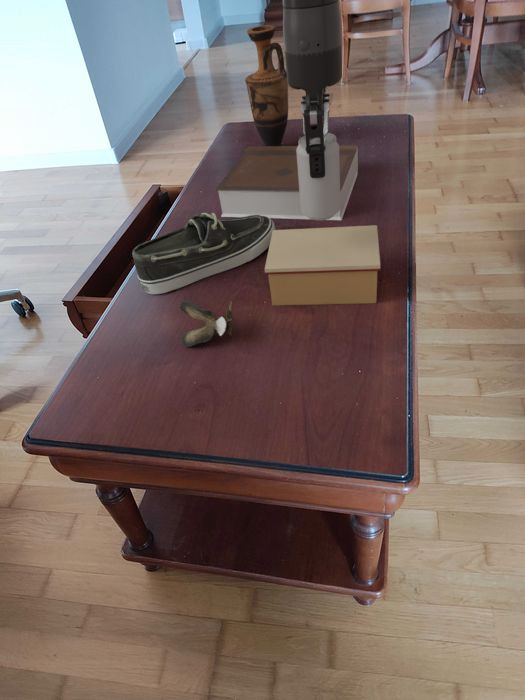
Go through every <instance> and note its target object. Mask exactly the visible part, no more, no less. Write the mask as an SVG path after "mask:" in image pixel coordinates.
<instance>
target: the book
mask: <svg viewBox="0 0 525 700" xmlns="http://www.w3.org/2000/svg"><path fill="white" fill-rule="evenodd" d="M297 147H298V145H288V146H265V145H263V146H262V145H261V146H247V147H246V148H245V149H244V152H243V153H242V154H241V155H240V157H239V158H238V160H236V162H235V163H234V165H233V166H232V167H231V169H229V171H228V172H227V174H226V175H225V176H224V178H223V179H222V180H221V182H220V183H219V185H218V186H217V187H216V188H215V191H217V194H218V196H219V203H220V209H221V216H220V217H221V218H240V217H247V216H251V215H260V216H266V217H269V218H270V219H287V220H288V219H289V220H290V219H291V220H311V219H310V218H308V217H306V216H305V215H303V214H302V212H301V205H300V192H299V179H298V166H297V152H296V149H297ZM359 149H360V147H359V145H357V144H354V145H353V144H352V145H346V144H345V145H344V144H343V145H339V161H340V210H339V212H338V213H337V214H335V215H334V216H333V217H332V218H330V219H327V220H326V221H342V220H343V218H344V214H345V212H346V209H347V206H348V203H349V200H350V198H351V195H352V192H353V188H354V186H355V183H356V180H357V177H358V174H359V170H360V169H359V162H360V161H359V160H360V159H359V156H360V155H359Z"/></svg>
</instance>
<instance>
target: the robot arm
mask: <svg viewBox="0 0 525 700" xmlns="http://www.w3.org/2000/svg"><path fill="white" fill-rule="evenodd" d="M282 13H283V15H282V35H283V46H284V47H283V48H284V62H285V71H286V73H287V83H288V87H289V88H292V89H294V90H303V91H304V92H305V94H304V95H301V101H300V113H301V115H302V124H303V125H302V128H303V129H302V131H303V136H306V151H307V154H309V164H310V177H311V178H323V177H324V176H325V150H326V146H325V136H326V135H327V134H328V133H329V121H330V110H331V109H330V107H331V93H330V92H328V93H327V91H326V90H327V87H328V88H329V87H333V86H335V85H336V84H338V83H339V82H340V81H341V80H342V79H343V50H342V49H343V48H342V47H343V45H342V44H343V40H342V39H343V38H342V36H343V35H342V16H341V15H342V14H341V8H340V0H282ZM315 137H319V138H320V144H311V138H315Z"/></svg>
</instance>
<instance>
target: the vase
mask: <svg viewBox="0 0 525 700" xmlns="http://www.w3.org/2000/svg"><path fill="white" fill-rule="evenodd" d="M275 32H276V26H275V25H271V24H265V25H264V24H263V25H257V26H253V27H250V28H249V29H247V31H246V33H247V35H248V38H249V39H250V41H251V42H253V43H254V45H255V48H256V53H257V62H258V63H257V64H258V66H257V70H256V71H255V72H253V73H251V74H249V75H248V76H246V77H245V81H244V82H245V85H246V90H247V94H248V100H249V105H250V109H251V115H252V118H253V119H252V120H253V122H254V125H255V129H256V131H257V133H258V134H259V137H260V138H261V140H262V142H263V144H264V146H289V145H288V144H285V143H284V144H281V143H283V139H284V136H285V132H286V129H287V126H288V120H289V119H288V118H289V85H288V83H287V73H286V67H285V56H284V52H283V48H282V46H281V45H280V43H279V42H272V39H273V37H274V35H275ZM274 50H275V51H276V56H277V61H278V62H277V68H275V66H274V63H273V51H274Z"/></svg>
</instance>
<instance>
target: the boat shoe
mask: <svg viewBox="0 0 525 700" xmlns="http://www.w3.org/2000/svg"><path fill="white" fill-rule="evenodd" d="M273 230H277V229H276V226H275V222H274V220H272V218H269V217H266V216H260V215H251V216H247V217H233V218H221V219H219V218H218V217H217V215H216V212H211V213H208V212H201V213H200V214H195V215H192V216H191V218H190V219H188V221H187V223H186V225H185V226H183V227H181V228H179V229H177V230H173V231H171V232H167V233H165V234H163V235H160V236H157V237H155V238H153V239H150V240H147V241H145V242H142V243H140V244H138V245H137V246H135V247H134V248H133V249H132V253H131V254H132V258H133V263H134V268H135V270H136V273H137V278H138V282H139V284H140V286H141V288H142V289H143V291H144V292H145V293H146V294H149V295H160V294H166V293H169V292H172V291H174V290H178V289H181V288H183V287H186V286H188V285H190V284H193V283H195V282H198V281H200V280H202V279H206V278H208V277H210V276H214V275H216V274H220V273H222V272H226V271H229V270H232V269H234V268H237V267H239V266H242V265H244V264H246V263H248V262H251V261H252V260H254V259H256V258H257V257H259V256H261V254H262V253H264V252H265V251H266V250H267V249H269V246H270V241H271V236H272V232H273Z"/></svg>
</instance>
